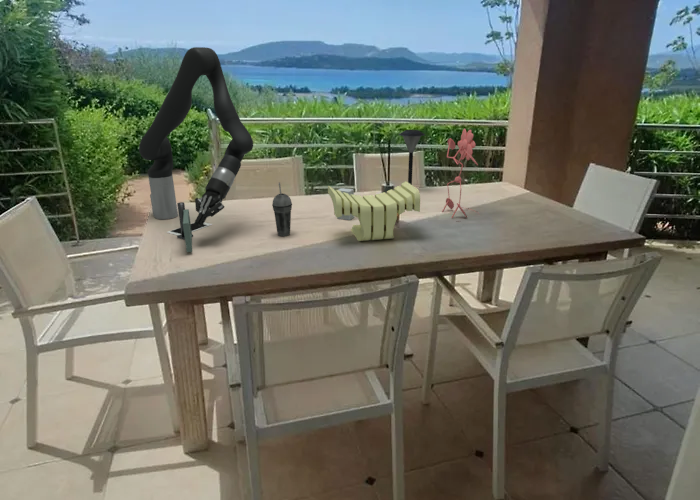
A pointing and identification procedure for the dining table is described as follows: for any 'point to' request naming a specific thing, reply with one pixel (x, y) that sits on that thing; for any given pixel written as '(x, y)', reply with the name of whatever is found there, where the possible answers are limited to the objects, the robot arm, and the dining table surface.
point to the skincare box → (350, 191)
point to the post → (181, 219)
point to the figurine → (465, 151)
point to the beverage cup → (282, 213)
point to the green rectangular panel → (187, 230)
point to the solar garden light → (411, 147)
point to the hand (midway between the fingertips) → (198, 224)
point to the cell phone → (193, 228)
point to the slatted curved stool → (376, 210)
